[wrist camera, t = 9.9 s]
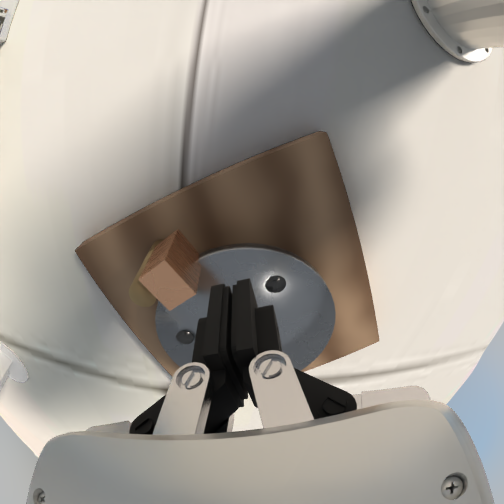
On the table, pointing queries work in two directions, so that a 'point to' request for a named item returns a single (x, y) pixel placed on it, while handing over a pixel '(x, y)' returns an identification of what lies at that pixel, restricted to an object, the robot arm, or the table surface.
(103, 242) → the pivot base
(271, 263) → the flange plate
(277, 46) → the table surface
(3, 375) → the white mount stand
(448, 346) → the table surface
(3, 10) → the light bulb box
